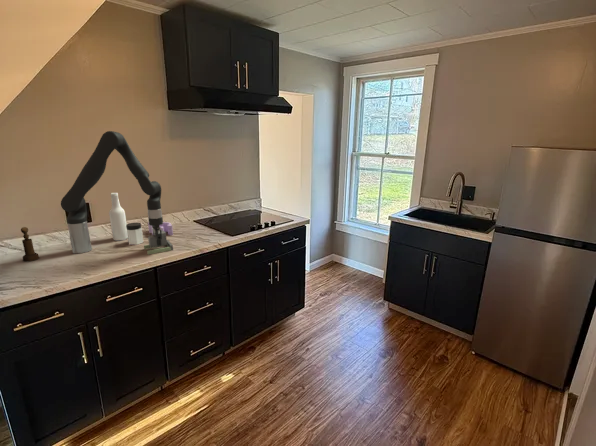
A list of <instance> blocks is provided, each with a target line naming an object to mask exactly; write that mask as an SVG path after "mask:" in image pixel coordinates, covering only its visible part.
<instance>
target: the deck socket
mask: <svg viewBox="0 0 596 446" xmlns="http://www.w3.org/2000/svg"><path fill="white" fill-rule="evenodd" d="M159 247H160V248H159ZM159 247H158V248H156V247H153V248H152V249H151V248H150V246H149V244H145V245H143V248H144V250H146V254H147V255H153V254H159V253H164V252H169V251H174V246H173V244H172V242H170V240H169V239H167V245H165V246H164V247H161V246H159Z"/></svg>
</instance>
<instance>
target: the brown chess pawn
mask: <svg viewBox="0 0 596 446" xmlns="http://www.w3.org/2000/svg"><path fill="white" fill-rule="evenodd" d="M20 232H21V233H22V234H23V235H22V237H23V238H24V239H22V240H21V241H22V247H23V250H24V253H25V254H24V255H23V256H22V261H23V262H32V261H36V260H38V259H40V256H39V253H37V252H35V248H34V244H33V239H32V238H30V237H29V236H30V235H29V234H28V232H29V229H28V227H26V226H23V227H21V228H20Z"/></svg>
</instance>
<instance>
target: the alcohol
mask: <svg viewBox="0 0 596 446" xmlns="http://www.w3.org/2000/svg"><path fill="white" fill-rule="evenodd" d="M119 198H120V197H119V193H118V192H111V193H110V199H111V207H110V210H109V212H108V216H109V222H110V227H111V235H112V240H114V241H116V242H118V241H119V242H120V241H125V240H128V236H127V228H126V225H127V224H128V222H127V217H126V211H125V209H124V208H123V207H122V206H121V204H120V200H119Z"/></svg>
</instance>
